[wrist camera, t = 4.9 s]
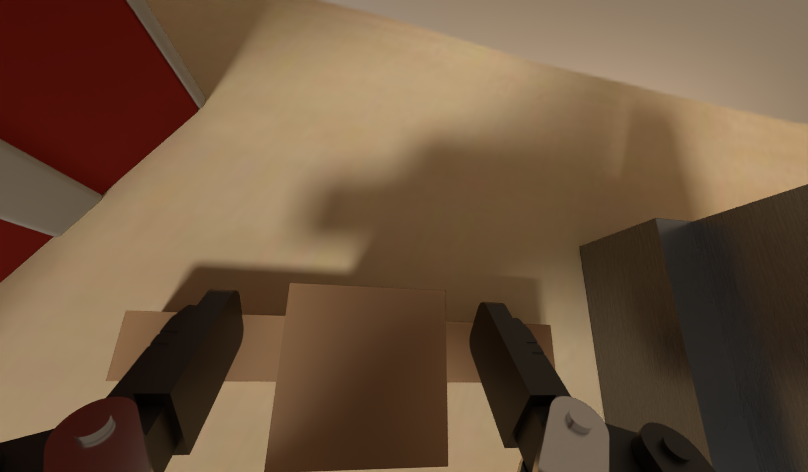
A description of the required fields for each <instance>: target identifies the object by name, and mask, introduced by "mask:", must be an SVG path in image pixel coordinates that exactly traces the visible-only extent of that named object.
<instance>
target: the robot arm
mask: <svg viewBox="0 0 808 472" xmlns="http://www.w3.org/2000/svg"><path fill="white" fill-rule="evenodd" d="M243 333H244V325H243V318H242V310H241V303H240V296H239V293H238V291H236V290H215V289H211V290H209V291H208V292H207V293H206V294H205V296H204V297H203V298H202V300H201V301H200V303H199V304H198V305H197V306H193V305H188V306H187V307H185V308H184V309H182V310H181V311H179V312H178V313H177V314H175V315H174V316H172V317H171V318H170V319H169V321H168V322H167V323H166V324H165V326H164V327H163V328H162V329H161V330H160V334H157V335H156V337H155V338H154V339H153V340H152V342H151V343H150V346H148V347H147V348H146V349H145V350H144V352H143V353H142V354H141V355H140V357H139V358H138V359H137V360H136V362H135V363H134V364H133V365H132V367H131V368H130V369H129V370H128V371H127V373H126V374H125V375H124V376H123V378H122V379H121V380H120V381H119V383H118V384H117V385H116V386H115V388H114V389H113V390H112V391H111V393H110V394H109V395H108V396H107V397H106V398H104V399H100V400H97V401H95V402H92V403H90V404H88V405H85V406H84V407H82V408H80V409H78V410H76V411H75V412H74V413H72V414H71V415H69V416H68V417H67V418H65V419H64V420H63V421H62V422H61V423H60V424H59V425H58V426H57V427H56V428H55V429H51V430H48V431H44V432H40V433H37V434H33V435H29V436H25V437H21V438H17V439H13V440H10V441H6V442H2V443H0V472H164V471H165V469H166V467H167V465H168V463H169V461H170V459H171V457H172V455H190V453H191V450H192V448H193V446H194V444H195V442H196V440H197V438H198V436H199V433H200V431H201V429H202V427H203V425H204V423H205V421H206V419H207V416H208V414H209V412H210V410H211V408H212V406H213V404H214V402H215V399H216V397H217V395H218V393H219V391H220V389H221V387H222V384H223V382H224V380H225V378H226V376H227V374H228V372H229V370H230V367H231V365H232V363H233V361H234V359H235V357H236V355H237V353H238V350H239V348H240V346H241V343H242V339H243ZM469 345H470V351H471V355H472V357H473V360H474V363H475V366H476V369H477V371H478V374H479V377H480V380H481V383H482V386H483V388H484V391H485V394H486V397H487V400H488V402H489V405H490V408H491V411H492V414H493V417H494V419H495V422H496V425H497V428H498V431H499V433H500V436H501V439H502V442H503V445H504V448H519V450H520V453H521V455H522V458H521V460H520V463H519V466H518V470H517V472H716V471H715V470H714V468H713V467H712V466H711V465H710V463H709V462H708V461H707V460H706V459H705V457H704V456H703V455H702V454H701V452H700V451H699V450H698V449H697V448H696V447H695V446H694V445H693V444H692V443H691V442H690V441H689V440H688V439H687V438H685V437H684V436H683V435H681V434H680V433H679V432H677V431H675V430H674V429H672V428H670V427H668V426H665V425H663V424H659V423H654V422H650V423H646V424H645V425H643V426H642V428H641V429H640V430H639V432H638V433H636V432H633V431H629V430H626V429H623V428H620V427H616V426H613V425H610V424H607V423H604V421H603V420H602V418H601V417H600V416H599V415H598V414H597V413H596V411H594V410H593V409H592V408H591V407H590V406H588V405H587V404H586V403H584V402H582V401H580V400H578V399H576V398H573V397H571V396H570V394H569V392H568V391H567V389H566V387H565V386H564V384H563V383H562V381H561V379H560V378H559V376H558V374H557V373H556V371H555V369H554V368H553V366H552V365H551V363H550V361H549V360H548V358H547V356H546V355H544V352H543V350H542V348H541V347H540V345H538V342H537V340H536V339H535V337H534V335H533V334H532V332H531V330H530V329H529V328H528V327H527V326H526V325H524V324H523V323H522V322H521V321H520V320H519V319H517V318H512V316H511V314H510V313H509V311H508V309H507V308H506V306H505V305H504V304H503V303H489V302H482V303H480V305H479V307H478V310H477V313H476V316H475V320H474V323H473V326H472V329H471V333H470V338H469Z"/></svg>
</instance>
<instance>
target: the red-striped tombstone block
mask: <svg viewBox="0 0 808 472" xmlns="http://www.w3.org/2000/svg"><path fill="white" fill-rule="evenodd" d="M204 104H205V97H204V95H203V93H202V91H201V90H200V88H199V87H198V85H197V83H196V82H195V80H194V78H193V77H192V75H191V74H190V72H189V70H188V69H187V67H186V65H185V64H184V62H183V61H182V59H181V57H180V56H179V54H178V52H177V51H176V49H175V48H174V46H173V44H172V43H171V41H170V39H169V38H168V36H167V35H166V33H165V31H164V30H163V28H162V26H161V25H160V23H159V22H158V20H157V18H156V17H155V15H154V13H153V12H152V10H151V9H150V7H149V5H148V4H147V2H146V0H0V282H2V281H3V280H4V279H5V278H6V277H7V276H9V275H10V274H11V273H12V272H13V271H14V270H15V269H17V268H18V267H19V266H20V265H21V264H22V263H24V262H25V261H26V260H27V259H28V258H29V257H30V256H32V255H33V254H34V253H35V252H36V251H37V250H39V249H40V248H41V247H42V246H43V245H44V244H45V243H47V242H48V241H49V240H50V239H51V238H52V237H58V236H60V235H62V234H63V233H64V232H65V231H67V230H68V229H69V228H70V227H71V226H72V225H73V224H75V223H76V222H77V221H78V220H79V219H80V218H81V217H83V216H84V215H85V214H86V213H87V212H88V211H89V210H91V209H92V208H93V207H94V206H95V205H96V204H97V203H99V202H100V201H101V200H102V194H103V193H104V192H106V191H107V190H108V189H109V188H110V187H111V186H112V185H114V184H115V183H116V182H117V181H118V180H119V179H121V178H122V177H123V176H124V175H125V174H126V173H127V172H129V171H130V170H131V169H132V168H133V167H134V166H136V165H137V164H138V163H139V162H140V161H141V160H142V159H144V158H145V157H146V156H147V155H148V154H149V153H151V152H152V151H153V150H154V149H155V148H156V147H157V146H159V145H160V144H161V143H162V142H163V141H164V140H166V139H167V138H168V137H169V136H170V135H171V134H173V133H174V132H175V131H176V130H177V129H178V128H179V127H181V126H182V125H183V124H184V123H185V122H186V121H188V120H189V119H190V118H191V117H192V116H193V115H194V114H196V113H197V111H198V110H197V109H198V108H202V107H203V106H204Z"/></svg>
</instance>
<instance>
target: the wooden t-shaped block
mask: <svg viewBox="0 0 808 472" xmlns="http://www.w3.org/2000/svg"><path fill="white" fill-rule="evenodd" d="M177 313H178V312H152V311H126V312H125V316H124V319H123V323H122V326H121V330H120V333H119V337H118V340H117V344H116V347H115V351H114V354H113V358H112V361H111V365H110V368H109V372H108V375H107V379H106V381H120V380H121V379H122V378H123V376H124V375H125V374H126V373H127V371H128V370H129V369H130V368H131V367H132V365H133V364H134V363H135V362H136V360H137V359H138V358H139V357H140V355H141V354H142V353H143V352H144V350H145V349H146V348H147V347H148V346H150V343H151V342H152V340H153V339H154V338H155V337H156V335H157V334H160V330H161V329H162V328H163V327H164V326H165V324H166V323H167V322H168V321H169V319H170V318H171V317H172V316H174V315H175V314H177ZM242 318H243V325H244V333H243V339H242V343H241V346H240V348H239V350H238V353H237V355H236V357H235V359H234V361H233V363H232V365H231V367H230V370H229V372H228V374H227V376H226V378H225V380H224V381H274V382H276V389H275V396H274V403H273V411H272V418H271V426H270V433H269V440H268V448H267V455H266V463H265V470H264V472H310V471H338V470H365V469H393V468H420V467H447V466H448V421H447V382H481V380H480V377H479V374H478V371H477V369H476V366H475V363H474V360H473V357H472V355H471V351H470V345H469V338H470V333H471V329H472V326H473V323H474V322H447V321H446V290H425V289H405V288H384V287H364V286H343V285H323V284H302V283H290V285H289V293H288V300H287V307H286V315H285V316H270V315H242ZM524 325H526V326H527V327H528V328H529V329H530V330H531V332H532V334H533V335H534V337H535V339H536V340H537V342H538V345H540V347H541V348H542V350H543V352H544V355H546V356H547V358H548V360H549V361H550V363H551V365H552V366H553V368H554V369H555V363H554V354H553V345H552V336H551V327H550V325H536V324H524Z"/></svg>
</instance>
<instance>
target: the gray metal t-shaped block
mask: <svg viewBox="0 0 808 472" xmlns="http://www.w3.org/2000/svg"><path fill="white" fill-rule="evenodd" d="M580 252H581V259H582V266H583V273H584V279H585V286H586V293H587V300H588V307H589V313H590V320H591V327H592V334H593V340H594V347H595V354H596V361H597V367H598V374H599V381H600V388H601V395H602V401H603V408H604V415H605V422H606V423H607V424H610V425H613V426H616V427H620V428H623V429H626V430H629V431H633V432H636V433H638V432H639V430H640V429H641V428H642V426H643V425H645V424H646V423H650V422H654V423H659V424H663V425H665V426H668V427H670V428H672V429H674V430H675V431H677V432H679V433H680V434H681V435H683V436H684V437H685V438H687V439H688V440H689V441H690V442H691V443H692V444H693V445H694V446H695V447H696V448H697V449H698V450H699V451H700V452H701V454H702V455H703V456H704V457H705V459H706V460H707V461H708V462H709V463H710V465H711V466H712V467H713V468H714V470H715V471H716V472H808V184H807V185H804V186H801V187H798V188H795V189H792V190H789V191H786V192H782V193H779V194H776V195H773V196H770V197H767V198H764V199H761V200H758V201H755V202H752V203H749V204H746V205H742V206H739V207H736V208H733V209H730V210H727V211H724V212H721V213H718V214H715V215H712V216H709V217H706V218H702V219H699V220H696V221H693V222H692V221H681V220H670V219H660V218H655V219H652V220H649V221H647V222H644V223H641V224H639V225H636V226H633V227H631V228H628V229H625V230H623V231H620V232H617V233H615V234H612V235H609V236H607V237H604V238H601V239H599V240H596V241H593V242H591V243H588V244H585V245H583V246H580Z"/></svg>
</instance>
